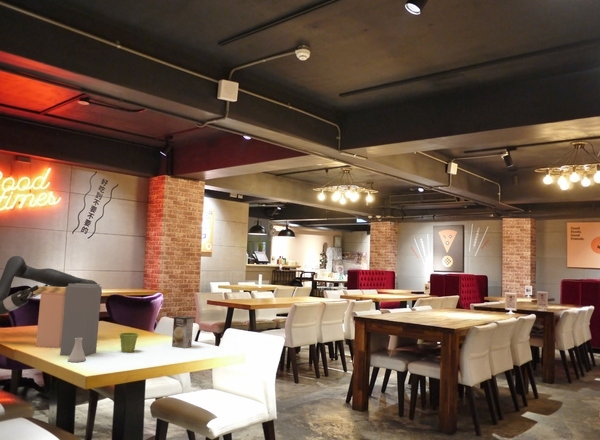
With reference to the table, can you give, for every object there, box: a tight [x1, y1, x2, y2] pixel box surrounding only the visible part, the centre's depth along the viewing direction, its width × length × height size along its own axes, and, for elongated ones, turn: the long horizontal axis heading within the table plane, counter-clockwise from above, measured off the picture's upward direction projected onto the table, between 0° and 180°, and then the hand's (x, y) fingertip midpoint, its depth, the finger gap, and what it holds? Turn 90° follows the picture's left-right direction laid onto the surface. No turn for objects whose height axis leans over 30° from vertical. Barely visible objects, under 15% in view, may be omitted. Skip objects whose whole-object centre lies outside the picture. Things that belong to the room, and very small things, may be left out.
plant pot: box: [118, 332, 140, 353], centre depth 245 cm, size 9×9×9 cm
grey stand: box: [59, 283, 102, 357], centre depth 235 cm, size 12×11×33 cm
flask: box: [67, 338, 87, 363], centre depth 218 cm, size 7×7×10 cm
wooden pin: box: [33, 285, 66, 295], centre depth 254 cm, size 24×5×5 cm, turn 86°
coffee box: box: [171, 315, 194, 349], centre depth 266 cm, size 9×6×16 cm
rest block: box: [35, 292, 65, 349], centre depth 253 cm, size 12×10×27 cm
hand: (42, 286), depth 255 cm, fingers open, 8 cm apart
